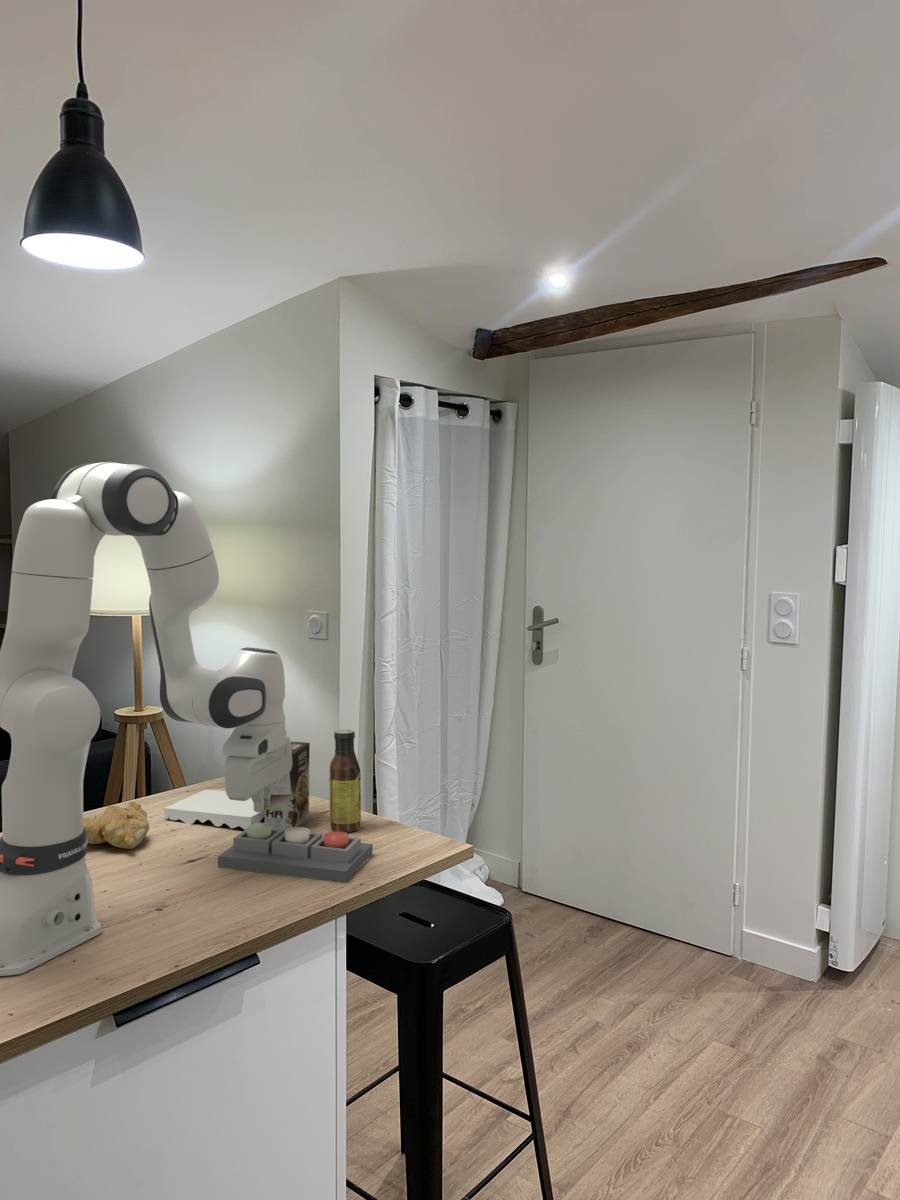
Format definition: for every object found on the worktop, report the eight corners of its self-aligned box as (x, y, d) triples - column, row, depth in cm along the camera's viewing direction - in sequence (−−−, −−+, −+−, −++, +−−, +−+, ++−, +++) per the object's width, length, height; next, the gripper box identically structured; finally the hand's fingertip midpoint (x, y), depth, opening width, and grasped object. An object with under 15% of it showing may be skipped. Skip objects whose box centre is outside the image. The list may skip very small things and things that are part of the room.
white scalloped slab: (164, 824, 187) (251, 834, 181) (164, 808, 187) (250, 817, 181) (206, 804, 202) (287, 812, 195) (205, 789, 201) (287, 797, 195)
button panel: (345, 882, 157) (345, 858, 157) (218, 866, 163) (218, 843, 163) (372, 854, 171) (372, 832, 170) (253, 840, 177) (253, 819, 176)
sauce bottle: (366, 830, 184) (367, 732, 182) (338, 836, 180) (339, 736, 179) (350, 821, 189) (352, 726, 187) (323, 826, 186) (324, 729, 184)
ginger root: (112, 858, 163) (105, 813, 163) (55, 861, 171) (49, 818, 171) (179, 836, 176) (172, 794, 177) (123, 840, 184) (117, 800, 185)
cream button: (303, 848, 164) (303, 836, 164) (280, 845, 165) (280, 833, 165) (313, 840, 168) (313, 828, 168) (290, 837, 169) (291, 826, 169)
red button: (343, 852, 162) (343, 840, 162) (319, 850, 163) (320, 838, 163) (351, 844, 166) (352, 832, 166) (329, 842, 167) (329, 830, 167)
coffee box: (294, 832, 182) (294, 752, 180) (263, 829, 183) (263, 750, 181) (310, 818, 190) (311, 741, 189) (280, 815, 192) (281, 739, 190)
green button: (264, 843, 166) (265, 831, 166) (242, 841, 167) (242, 829, 167) (275, 835, 170) (275, 824, 170) (253, 833, 171) (253, 821, 171)
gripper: (269, 721, 178) (270, 791, 179) (217, 748, 158) (219, 826, 159) (300, 724, 176) (300, 794, 178) (251, 750, 156) (252, 829, 158)
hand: (261, 809), depth 168 cm, fingers closed
